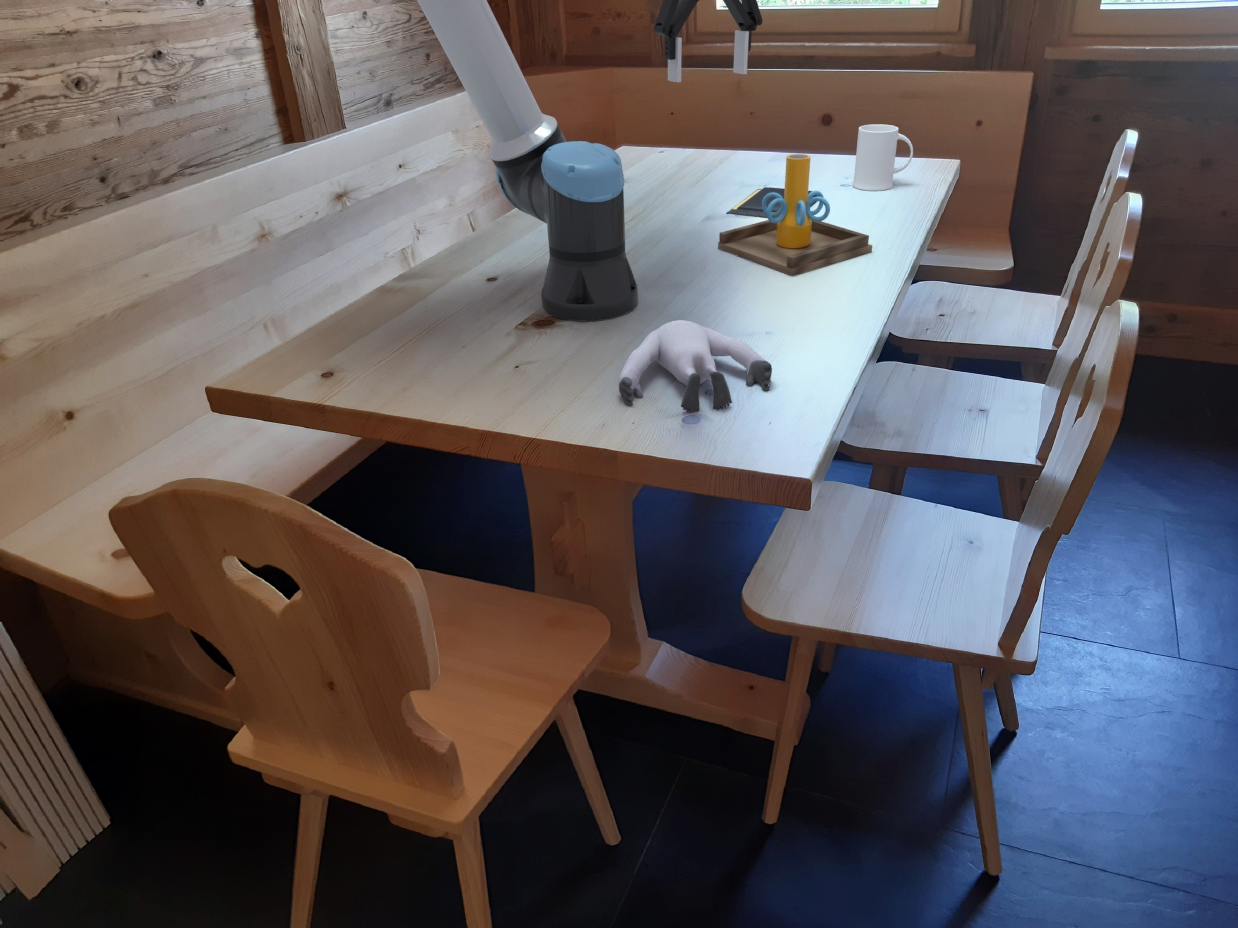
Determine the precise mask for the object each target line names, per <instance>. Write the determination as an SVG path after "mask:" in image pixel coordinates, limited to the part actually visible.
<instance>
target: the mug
mask: <svg viewBox="0 0 1238 928" xmlns="http://www.w3.org/2000/svg"><path fill="white" fill-rule="evenodd" d="M857 132H858V134H857V141H856V142H857V144H856V153H855V155H856V157H855V165H854V173H853V174H854V175H853V181H852V183H851V184H852V185H851V186H852V187H853V188H855V189H857V190H861V191H865V192H866V191H868V192H879V191H880V192H881V191H888V190H890V189H892V188H893V187H894V174H898V173H899V172H902V171H904V170H905V169H906V168H907V167H908V166H909V165H910V163H911V162H912V159H913V155H914V148H913V144H912V142H911V141H910V139H909V138H908V137H907V136H906V135H904V134H901V133H900V132H899V127H898V126H896V125H890V124H884V123H883V124H878V123H877V124H876V123H875V124H873V123H872V124H864V125H860V126H859V127H858V131H857ZM898 140H899V141H903V142H906V144H907V145H908V147H909V149H910V154H909V157H908V160H907V161H906V163H904V164H903V165H901V166H899V167H895V163H896V156H897V155H896V154H897V153H896V152H897V147H898Z"/></svg>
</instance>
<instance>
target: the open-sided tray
mask: <svg viewBox="0 0 1238 928" xmlns="http://www.w3.org/2000/svg"><path fill="white" fill-rule="evenodd" d="M778 218H779V217H778ZM774 219H777V218H774ZM776 234H777V223H771V222H770V221H769V220H768V219H766V220H764V221H760V222H755V223H751V224H748V225H745V226H740V227H737V228H733V229H728V230H724V231H722V232H719V234H718V235H719V236H718V237H719V241H718V243H717V250H720V251H723V252H725V253H728V254H731V255H733V256H734V255H735V256H736V257H738V258H739V257H740V258H742V259H745V260H748V261H751V262H753V263H756V264H758V265H761V266H764V267H766V268H770V269H772V270H774V271H778V272H780V273H783V274H786V275H788V276H791V277H795V276H798V275H801V274H804V273H808V272H810V271H814V270H817V269H822V268H823V267H827V266H830V265H834V264H837V263H840V262H843V261H847V260H849V259H853V258H856V257H860V256H864V255H867V254H869V253H872V251H873V244H871V243H869V239H870V235H869V234H866V233H862V232H859V231H855V230H851V229H848V228H844V227H841V226H838V225H834V224H832V223H828V222H826V221H813V220H812V228H811V241H810V244H809V245H808V246H806V247H803V248H795V249H794V248H784V247H781V246H779V245H777V243H776Z"/></svg>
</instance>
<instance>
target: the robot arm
mask: <svg viewBox="0 0 1238 928" xmlns="http://www.w3.org/2000/svg"><path fill="white" fill-rule="evenodd" d="M416 1H417V3H418V4H419V6H420V8H421V10H422V12H423V13H424V15H425V17H426V19H427V21H428V23H429V25H430V27H431V28H432V30H433V32H434V34H435V36H436V38H437V40H438V42H439V43H440V45H441V47H442V49H443V51H444V53H445V55H446V56H447V59H448V60H449V62H450V64H451V66H452V68H453V69H454V71H455V73H456V76H457V77H458V79H459V80H460V82H461V84H462V86H463V88H464V90H465V91H466V93H467V95H468V98H469V100H470V101H471V103H472V105H473V107H474V109H475V110H476V112H477V114H478V116H479V118H480V120H481V121H482V124H483V125H484V127H485V129H486V130H487V133H488V134H489V137H490V138H491V140H492V142H491V145H490V148H489V152H488V153H489V157H490V159H491V161H492V162H493V164H494V166H495V177H496V183H497V185H498V187H499V189H500V191H501V193H502V195H503V196H504V197H505V198H506V200H507V201H508V202H509V203H510V204H511V205H512V206H513V207H514V208H516V209H517V210H518V211H520V212H523V213H525V214H527V215H529V216H532V217H533V218H535V219H537V220H539V221H541V222H542V223H545V224H546V227H547V239H548V240H547V241H548V251H549V252H548V253H549V259H548V263H547V267H546V272H545V275H544V281H543V285H542V288H541V294H540V295H541V305H542V309H543V310H544V312H546V313H547V314H549V315H550V316H552V317H555V318H558V319H562V320H567V321H568V320H569V321H575V322H576V321H578V322H579V321H582V322H585V321H588V322H589V321H590V322H591V321H603V320H607V319H613V318H616V317H619V316H622V315H624V314H628V313H629V312H632V311H633V310H634V309H635V308H636V307H637V305H638V303H639V288H638V284H637V282H636V279H635V276H634V274H633V273H634V272H633V271H632V268H631V265H630V263H629V260H628V257H627V253H626V230H625V228H626V227H625V225H626V224H625V195H624V193H625V192H624V187H625V177H624V176H625V175H624V173H623V171H624V170H623V165H622V164H623V163H622V159H621V157H620V156H619V154H618V153H617V152H616V150H614V149H613V148H611V147H609V146H607V145H605V144H602V143H597V142H595V143H590V142H589V141H581V140H580V141H579V140H577V141H574V140H573V141H567V140H566V138H565V135H564V134H563V131H562V130H561V128H560V126H559V123H558V121H557V119H556V118H555V117H554V116H551V115H548V114H544V113H543V112H542V111H541V109H540V107H539V105H538V103H537V101H536V98H535V96H534V95H533V93H532V91H531V89H530V87H529V85H528V83H527V80H526V79H525V77H524V74H523V72H522V70H521V68H520V66H519V64H518V62H517V59H516V58H515V55H514V54H513V52H512V49H511V47H510V45H509V44H508V42H507V41H508V40H507V39H506V37H505V35H504V33H503V31H502V29H501V26H500V24H499V23H498V21H497V19H496V17H495V15H494V13H493V11H492V9H491V6H490V5H489V3H488V0H416ZM699 1H700V0H662V3H661V6H660V8H659V12H658V14H657V18H656V20H655V22H654V25H653V32H654V33H655V34H659V35H660V36H661V37H663V39H664V40H663V41H664V44H663V45H664V48H663V49H664V59H665V60H667V82H668V81H669V82H673V83H681V82H682V54H683V53H682V52H683V51H682V49H683V48H682V46H683V42H682V41H683V39H682V37H680V36H679V37H677V36H678V35H679V33H680V32H681V30H682V28H683V26H684V25H685V23H686V22H687V20H688V19H689V16H690V15H691V13H692V12H693V10H694V8H695V7H696V5H697V3H699ZM722 2H724V5H725V6H726V8H727V10H728V12H729V13H730V15H731V17H732V18H733V19H734V22H735V23H736V25H737V26H738V28H739V29H740V30H739V29H738V30H737V29H736V30H734V44H733V45H734V48H733V70H732V71H733V73H734V74H739V75H740V74H741V75H748V58H749V52H750V51H751V49H752V33H753V32H755V31H756V30H757V28H758V26H761V25H762V24H763V17H762V13H761V10H760V8H759V5H758V1H757V0H722Z"/></svg>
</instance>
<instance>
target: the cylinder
mask: <svg viewBox="0 0 1238 928" xmlns="http://www.w3.org/2000/svg"><path fill="white" fill-rule="evenodd" d="M785 158H786V159H785V174H784V189H785V191H784V199H783V197H782V196H781V195H780V194H778V193H775V192H772V193H768V194H767V195H765V196H764V198H763V200H762V209H763V211H764V212H765V214H767V218H766V219H767V220H769V221H770V222H771V223H777V234H776V243H777V245H779V246H781V247H784V248H794V249H795V248H803V247H806V246H808V245H809V244H810V241H811V228H812V220H813V221H822V222H824V221H825V220H826V219H827V218H828V217H829V215H830V214H831V213H830V212H831V206H830V203H829V201H828V200H827V199H826V198H825V197H824V195H823V193H822V192H821V191H819V190H811V191H812V192H811V193H809V194H808V191H809V184H810V169H811V155H809V154H804V153H794V154H793V153H792V154H788V155H786V157H785ZM815 195H817V197H813V196H815ZM770 197H775V198H777V199H774V200H773V201H772V202H771V203H770V204H769V206H768V208H767V207H766V202H767V200H768V199H769V198H770ZM811 197H813V198H811ZM815 201H818V205H817V207H816V209H814V210H811V208H812V207H811V204H812V203H813V202H815ZM777 203H780V204H781V207H780V209H779V211H777V212H771V210H772V208H773V206H774V205H775V204H777ZM810 207H811V208H810ZM823 207H825V210H824V213H823V214H822V215H821V216H816V215H818V214H819V213H820V212H821V210H822V209H823ZM779 215H780V216H779ZM777 216H779V218H777V219H774V218H773V217H777Z"/></svg>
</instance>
